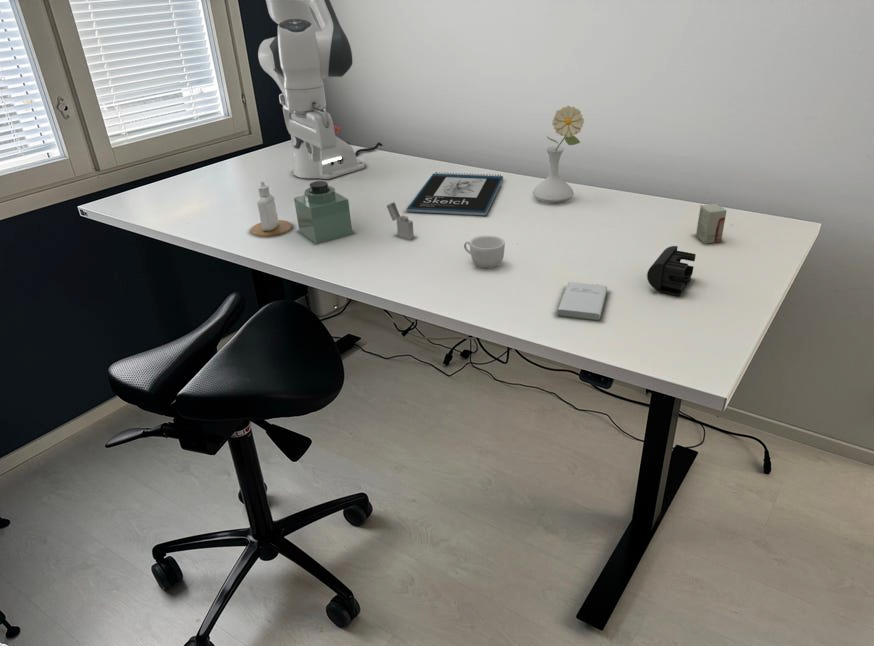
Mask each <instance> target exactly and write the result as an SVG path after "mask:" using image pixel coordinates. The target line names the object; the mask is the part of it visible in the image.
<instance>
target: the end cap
mask: <svg viewBox="0 0 874 646" xmlns="http://www.w3.org/2000/svg"><path fill="white" fill-rule="evenodd" d="M696 255H697V254H696V253H693V252H687V251H682V250H678V245H671V246H668V247H667V248H665V249H663V251H662V252H661V253H660V255H659V256H657V258H656V260H655V261H654V262H653V263H652V264H651V266H649V268H648V270H647V274H646V277H647V278H646V279H647V282H648V283H649V285H650V286H651V287H652V288H653V289H655V291H657V292H658V293H661V294H665V295H669V296H673V297H681V295H682V294H683V292H684V291H685V290H686V288H687V286H688V285H689V284H690V282H691V280H692V275H693V273H694V267H695V266H693V265H689V263H687V262H682V260H684V261H688V262H695V261H696Z"/></svg>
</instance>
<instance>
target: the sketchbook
mask: <svg viewBox="0 0 874 646" xmlns="http://www.w3.org/2000/svg"><path fill="white" fill-rule="evenodd" d="M503 181H504V176H503V175H502V174H495V173H494V174H491V173H489V174H488V173H486V174H485V173H479V174H478V173H470V172H468V173H465V172H464V173H460V172H441V171H440V172H438V171H435V172H434V173H432V174H431V176H430V177H429V178H428V180H427V181H426V182H425V184H424V185H423V186H422V188H420V190H419V191H418V194H416V196H415V197H414V199H413V200H412V201H411V202H410V204H409V205H408V206H407V208H406V209H407V210H406V212H407V213H414V214H415V213H416V214H434V215H435V214H436V215H457V216H475V217H477V216H478V217H487V214H488V212H489V210H490V208H491V206H492V204H493V202H494V200H495V198H496V195H497V193H498V192H499V190H500V187H501V184H502V183H503Z"/></svg>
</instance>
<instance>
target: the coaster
mask: <svg viewBox="0 0 874 646" xmlns="http://www.w3.org/2000/svg"><path fill="white" fill-rule="evenodd" d="M278 221H279V225H278V227H277V228H275V229H274V230H271V231H264V230H263V229H262V224H261V222H259V223H257V224H255V225H253V226H252V227H251V234H252V235H253V236H255V237H262V238H269V237H277V236H282V235H284V234H287V233H288V232H290V231H291V230H292V224H291V222H289V221H288V220H287V221H286V220H283V219H282V220H281V219H278Z"/></svg>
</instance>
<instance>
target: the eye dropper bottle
mask: <svg viewBox="0 0 874 646" xmlns="http://www.w3.org/2000/svg"><path fill="white" fill-rule="evenodd" d="M257 189H258V193H259V197H258V199H257V208H258V214H259V218H260V223H261V224H262V229H263V230H264V231H271V230H274V229H275V228H277V227H278V225H279V221H278V220H279V217H278V212H277V211H278V210H277V206H276V201H275V196H274V195H273V194H271V193H270V188H269V186H268V185H266V184H265V181H263V180H262V181H260V186H258V187H257Z"/></svg>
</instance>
